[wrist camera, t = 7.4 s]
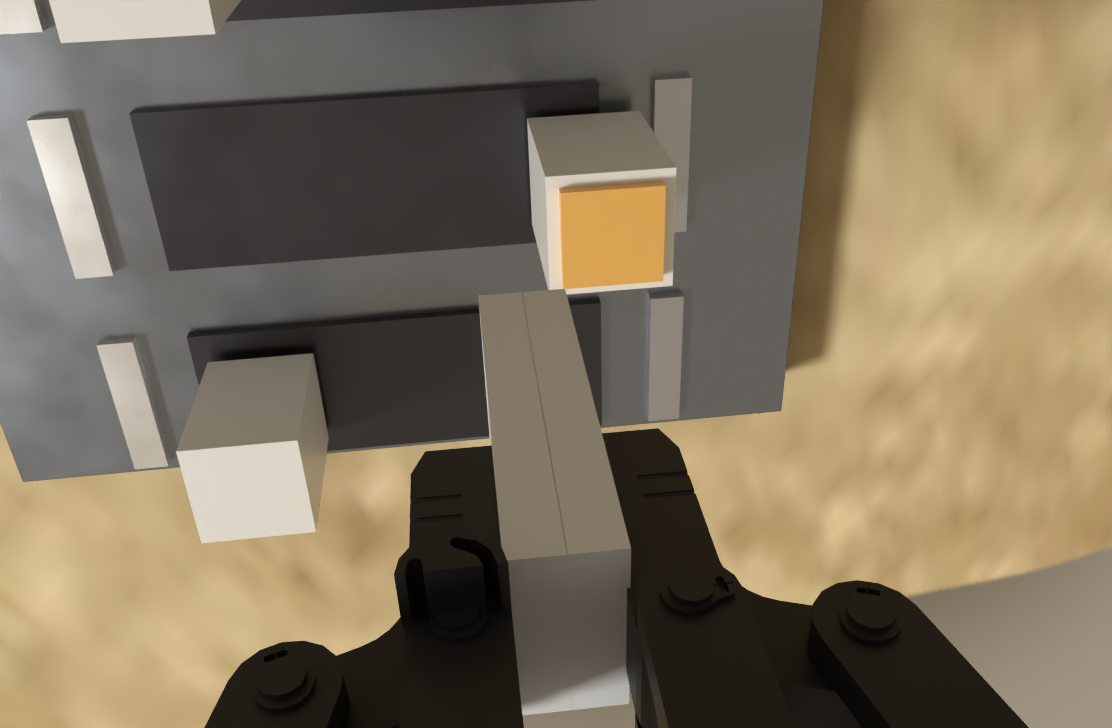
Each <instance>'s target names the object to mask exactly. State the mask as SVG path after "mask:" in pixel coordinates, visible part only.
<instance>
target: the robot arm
mask: <svg viewBox="0 0 1112 728" xmlns="http://www.w3.org/2000/svg"><path fill="white" fill-rule="evenodd" d="M478 299H479V311H480V324H481V336H482V349H483V361H484V374H485V386H486V399H487V411H488V424H489V435H490V446H482V447H470V448H459V449H448V450H437V451H426V452H425V453H424V455H423V456H422V458H421V459H420V461H419V462H418V464H417V466H416V467H415V469H414V470H413V472H412V473H411V496H410V499H411V504H410V545H409V548H408V549H407V551H406V552H405V553H404V554H403V555H402V556H401V557H400V558H399V560H398V563H397V566H396V570H395V573H394V577H395V584H396V590H397V596H398V603H399V609H400V616H401V617H400V619H399V620H398V621H397V622H396V623H395V624H394V625H393V627H392V628H391V629H390V630H389V631H387V632H386V633H384V634H383V635H382V636H380V637H379V638H378V639H376V640H374V641H372V642H370V643H368V644H366V645H364V646H362V647H359V648H356V649H354V650H351V651H348V652H346V653H343V654H340V655H338V656H335V655H334V654H333V653H332V652H330V651H329V650H328V649H327V648H325V647H324V646H322V645H318V644H314V643H310V642H307V641H294V642H282V643H279V644H276V645H273V646H271V647H268V648H265V649H262V650H260V651H258V652H257V653H256V654H254V655H253V656H251V657H250V658H248V659H247V660H246V661H244V662H243V663H241V665H240V666H239V667H238V669H237V670H236V671H235V673H234V674H233V675H232V676H231V678H230V679H229V680H228V682H227V684H226V686H225V688H224V690H223V692H222V694H221V696H220V698H219V700H218V702H217V704H216V706H215V708H214V710H213V712H212V714H211V716H210V718H209V720H208V722H207V724H206V726H205V728H524V726H523V716H522V715H530V714H539V713H549V712H558V711H566V710H576V709H584V708H594V707H603V706H612V705H621V704H629V685H630V690H631V694H632V699H633V704H634V708H635V728H1028V727H1027V725H1026V724H1025V723H1024V722H1023V721H1022V720H1021V719H1020V718H1019V717H1018V716H1017V715H1016V713H1015V712H1014V711H1012V709H1011V708H1010V707H1009V706H1008V705H1007V704H1006V703H1005V701H1004V700H1003V699H1002V698H1001V697H1000V696H999V695H998V694H997V693H996V692H995V691H994V689H993V688H991V686H990V685H989V684H988V683H987V682H986V681H985V680H984V679H983V677H981V675H980V674H979V673H978V672H977V671H976V670H975V669H974V668H973V667H972V666H971V664H970V663H969V662H968V661H967V660H966V659H965V658H964V657H963V656H962V655H961V654H960V652H959V651H958V650H957V649H956V648H955V647H954V646H953V645H952V644H951V643H950V642H949V641H948V639H947V638H946V637H945V636H944V635H943V634H942V633H941V632H940V631H939V630H938V629H937V628H936V626H935V625H934V624H933V623H932V622H931V621H930V620H929V619H928V618H927V617H926V616H925V614H924V613H923V612H922V611H921V610H920V609H919V608H918V607H917V606H916V605H915V604H914V603H913V602H911V601H910V600H909V599H908V598H906V597H905V596H904V595H903V594H901V593H900V592H898V591H896V590H893V589H891V588H888V587H886V586H884V585H881V584H879V583H872V582H865V581H858V580H857V581H849V582H842V583H837V584H835V585H833V586H831V587H829V588H827V589H825V590H823V591H822V592H821V593H820V595H819V596H818V598H817V599H816V600H815V602H814V603H813V606H811V605H805V604H798V603H791V602H785V601H779V600H774V599H770V598H766V597H762V596H760V595H758V594H755V593H753V592H751V591H748V590H747V589H745V588H744V587H742V586H741V584H740V583H739V581H738V580H737V578H736V577H735V575H734V574H732V573H731V572H729V571H728V570H726V569H725V568H724V567H723V566H722V564H721V563H720V561H719V558H718V555H717V552H716V550H715V547H714V544H713V541H712V538H711V536H710V533H709V530H708V527H707V524H706V522H705V519H704V516H703V513H702V511H701V508H700V505H699V502H698V499H697V497H696V494H694V488H693V485H692V483H691V480H690V477H689V475H688V474H687V469H686V466H685V463H684V460H683V458H682V455H681V452H680V449H679V447H678V446H677V445H676V444H674V443H673V442H672V441H671V440H670V439H669V438H668V437H667V436H666V435H665V434H664V433H663V432H661V431H660V430H659V429H647V430H635V431H624V432H613V433H602V432H601V428H600V424H599V420H598V416H597V412H596V408H595V405H594V401H593V397H592V393H591V389H590V385H589V381H588V377H587V373H586V369H585V365H584V361H583V357H582V353H581V349H580V346H579V342H578V338H577V334H576V330H575V326H574V322H573V318H572V314H571V310H570V306H569V302H568V298H567V294H566V291H565V289H555V290H542V291H529V292H516V293H504V294H491V295H478Z"/></svg>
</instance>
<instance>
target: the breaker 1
mask: <svg viewBox="0 0 1112 728" xmlns="http://www.w3.org/2000/svg"><path fill="white" fill-rule="evenodd" d="M240 1H241V0H49V3H50V6H51V10H52V13H53V17H54V20H55V24H56V28H57V31H58V35H59V38H60V42H61V43H72V42H90V41H107V40H124V39H141V38H158V37H176V36H193V35H210V34H216V33H217V31H218V30H219V29H220V27H221V26H222V25H223V24H224V22H225V21H226V20H227V18H228V17H229V16H230V14H231V13H232V12H233V10H234V9H235V8H236V7H237V5H238V4H239V3H240Z"/></svg>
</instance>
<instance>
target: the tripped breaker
mask: <svg viewBox="0 0 1112 728" xmlns="http://www.w3.org/2000/svg"><path fill="white" fill-rule="evenodd" d="M527 128H528V149H529V170H530V191H531V213H532V226H533V230H534V234H535V238H536V242H537V246H538V250H539V254H540V258H541V262H542V266H543V271H544V275H545V279H546V283H547V287H548V290H555V289H565V291H566V294H579V293H592V292H604V291H616V290H628V289H640V288H653V287H665V286H673V257H674V226H675V195H676V166H675V165H674V163H673V161H672V160H671V158H670V157H669V155H668V154H667V152H666V151H665V149H664V147H663V146H662V144H661V143H660V141H659V140H658V138H657V137H656V135H655V134H654V132H653V130H652V129H651V127H650V126H649V124H648V123H647V121H646V120H645V118H644V116H643V115H642V113H641V112H640V111H628V112H613V113H598V114H583V115H568V116H553V117H538V118H527Z"/></svg>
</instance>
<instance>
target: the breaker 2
mask: <svg viewBox="0 0 1112 728" xmlns="http://www.w3.org/2000/svg"><path fill="white" fill-rule="evenodd" d="M328 439H329V437H328V431H327V426H326V420H325V415H324V409H323V404H322V398H321V393H320V387H319V382H318V376H317V371H316V365H315V360H314V355H313V353H311V354H299V355H287V356H276V357H264V358H252V359H240V360H229V361H217V362H208V363H207V366H206V368H205V371H204V374H203V377H202V380H201V382H200V385H199V388H198V391H197V394H196V397H195V399H194V402H193V405H192V408H191V411H190V413H189V416H188V419H187V422H186V425H185V428H184V430H183V433H182V436H181V439H180V442H179V444H178V447H177V450H176V454H177V457H178V461H179V464H180V468H181V471H182V475H183V479H184V482H185V486H186V489H187V493H188V496H189V500H190V503H191V507H192V511H193V514H194V518H195V521H196V525H197V528H198V532H199V535H200V539H201V542H202V543H208V542H218V541H228V540H238V539H248V538H258V537H268V536H278V535H288V534H298V533H308V532H316V528H317V521H318V513H319V506H320V499H321V491H322V484H323V476H324V469H325V461H326V454H327V447H328Z"/></svg>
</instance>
